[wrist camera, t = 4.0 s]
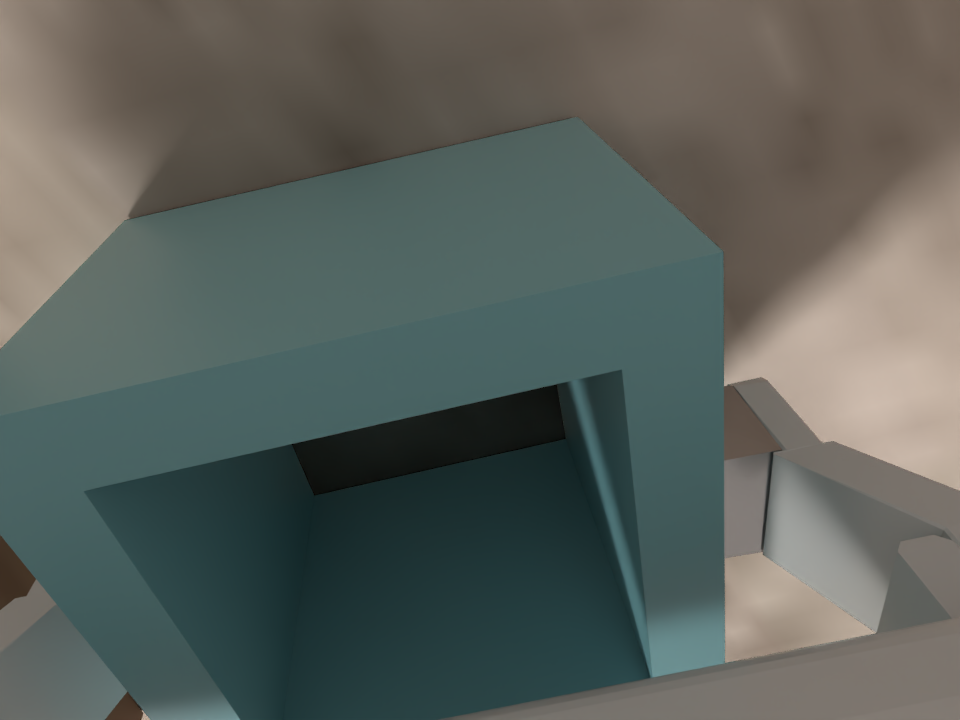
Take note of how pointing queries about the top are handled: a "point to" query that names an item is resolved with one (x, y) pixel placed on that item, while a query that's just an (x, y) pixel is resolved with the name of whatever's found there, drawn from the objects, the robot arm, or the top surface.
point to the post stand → (10, 579)
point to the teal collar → (371, 401)
